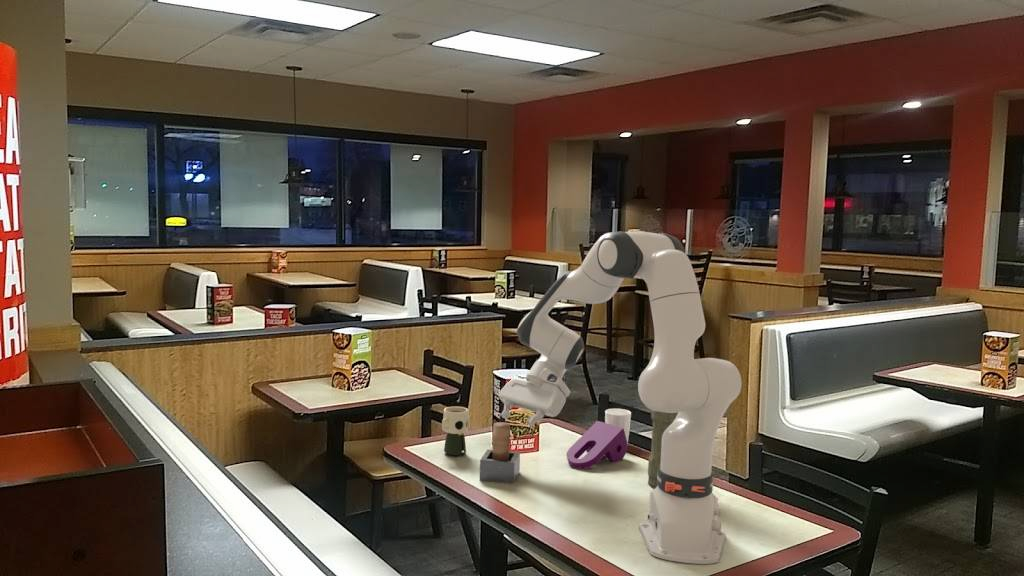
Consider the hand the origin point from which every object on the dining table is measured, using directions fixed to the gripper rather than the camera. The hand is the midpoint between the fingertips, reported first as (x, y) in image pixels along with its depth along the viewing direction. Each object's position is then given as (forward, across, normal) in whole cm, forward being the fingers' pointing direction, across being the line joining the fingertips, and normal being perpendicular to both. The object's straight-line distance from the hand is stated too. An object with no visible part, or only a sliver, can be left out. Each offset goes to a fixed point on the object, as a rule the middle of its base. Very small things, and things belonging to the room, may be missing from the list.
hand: (516, 420), depth 206 cm
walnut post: (+14, 0, +6) cm, 15 cm away
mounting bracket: (-7, +8, +27) cm, 29 cm away
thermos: (-6, +32, +26) cm, 42 cm away
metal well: (+14, 0, +6) cm, 15 cm away
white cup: (-20, +2, +40) cm, 45 cm away
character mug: (+12, -22, +8) cm, 26 cm away
